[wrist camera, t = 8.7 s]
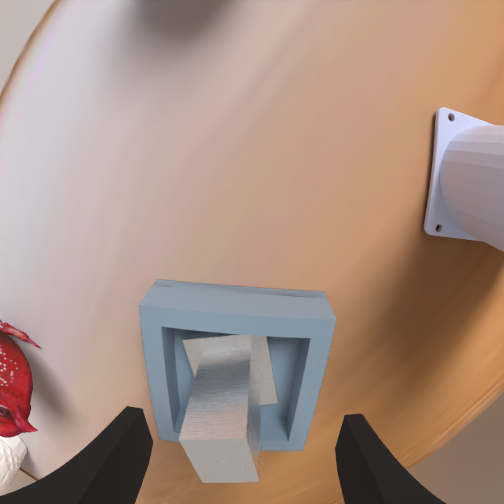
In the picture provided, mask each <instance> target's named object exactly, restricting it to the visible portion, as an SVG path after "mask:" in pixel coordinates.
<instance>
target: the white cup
mask: <svg viewBox="0 0 504 504" xmlns="http://www.w3.org/2000/svg"><path fill="white" fill-rule="evenodd" d="M26 453H27V448H26V445H25V444H24V442H23V441H22V439H21V438H20V437H19V436H18V435H17V436H15V437H11V438H4V437H1V436H0V496H1V495H5V494H7V492H8V490H9V488H10V486H11V484H12V482H13V480H14V478H15V476H16V474H17V472H18V470H19V468H20V464H21V462H22V460H23V458H24V457H25V455H26Z"/></svg>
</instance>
